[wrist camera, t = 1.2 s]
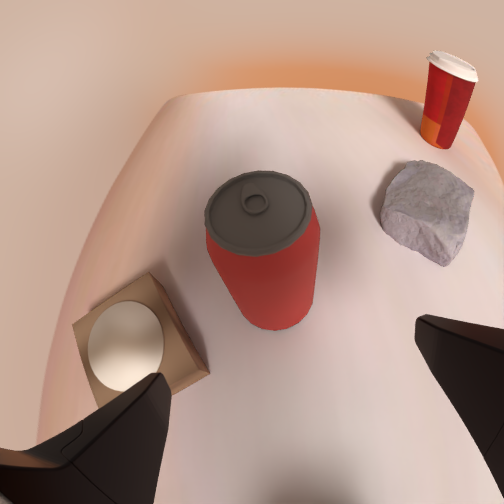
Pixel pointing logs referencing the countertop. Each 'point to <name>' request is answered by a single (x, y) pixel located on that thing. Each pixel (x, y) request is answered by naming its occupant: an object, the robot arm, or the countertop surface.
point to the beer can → (265, 246)
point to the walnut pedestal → (136, 342)
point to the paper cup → (446, 98)
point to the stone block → (427, 210)
